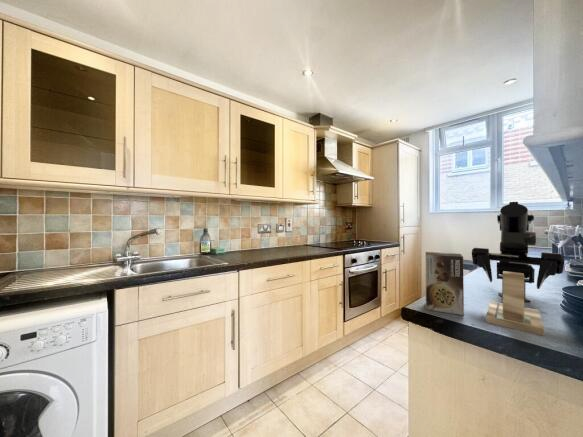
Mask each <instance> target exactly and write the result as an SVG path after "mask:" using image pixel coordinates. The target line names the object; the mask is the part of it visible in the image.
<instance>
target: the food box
mask: <svg viewBox="0 0 583 437" xmlns="http://www.w3.org/2000/svg"><path fill="white" fill-rule="evenodd" d="M464 286H465V284H464V256H463V255H462V254H461V253H451V252H450V253H449V252H435V251H434V252H433V251H425V310H429V311H435V312H439V313H440V312H441V313H447V314H454V315H459V316H464V315H465V312H464V311H465V304H464V302H465V296H464V294H465V292H464V291H465V290H464Z"/></svg>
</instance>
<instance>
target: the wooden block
mask: <svg viewBox="0 0 583 437" xmlns="http://www.w3.org/2000/svg"><path fill="white" fill-rule="evenodd" d="M502 303H503V318H504V319H506V320H511V321H516V322H520V323H523V322H524V308H525V302H524V273H515V272H507V271H503V297H502Z"/></svg>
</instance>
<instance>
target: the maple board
mask: <svg viewBox="0 0 583 437" xmlns="http://www.w3.org/2000/svg"><path fill="white" fill-rule="evenodd" d="M488 305H489V306H488V309H487V312H486V315H485V321H486V323H490V324H493V325H497V326H502V327H505V328H510V329H514V330H517V331H518V330H519V331H522V332H527V333H530V334H535V335H536V334H537V335H540V336H543V337H545V328H544V324H543V321H542V320H543V319H542V318H541V314H540V310H539V309H536V308H534V309H533V308H530V307H524V322H523V323H520V322H516V321H511V320H506V319H504V318H503V302H497V301H492V300H490V301H489V304H488Z"/></svg>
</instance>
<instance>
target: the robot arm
mask: <svg viewBox="0 0 583 437" xmlns="http://www.w3.org/2000/svg"><path fill="white" fill-rule="evenodd" d="M496 219H497V221H496V222H497V224H498V225H499V231H501V233H500V243H499V252H500V253H498V252H497V253H496V252H490V249H489V247H488V248H487V247H473V248H472V250H471V258H472V264H473V265H475V266H477V267H479V268H481V269H482V270H483V271H484V272H485V274H486V276H487V278H488V280H489V282H490V283H492V282H493V273H492V265H491V261H495V262H496V279H497V280H501V287H502V288H501V292H498V293H497V295H498V296H500V297H501V298H503V271H507V272H515V273H524V303H525V302H526V303H531V302H532V301H531V300H530V299H528V298H527V297H526V294H527V292H526V291H527V290H526V286H527V285H526V283H527V284H534V283H535V274H536V272H535V271H536V269H535V268H534V267H533V266H539V269H538V274H537V278H536V289H537V290H539V289H541V287H542V286H543V283H544V282H545V281H546V279H547V278H549V276H552V277H553V276H556V275H560V274H563V271H564V266H565V256H564V255H562V253H558V252H557V253H556V252H543V251H541V253H540V257H537V256H536V257H535V256H534V257H533V256H528V254H529V246H536V244H537V236H536V235H537V233H536V232H535V231H534V232H531V231H529V229H530V228H529V226H530V225H531V224H532V222H533V221H534V220H535V216H534V215H533V214H532V213H531V212H529V210H528V207H527V206H525V205H523V204H520V203H519V201H509V203H508V204H506V205H505V204H504V206H502V207H501V208H500V212H498V213H497V216H496Z"/></svg>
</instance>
